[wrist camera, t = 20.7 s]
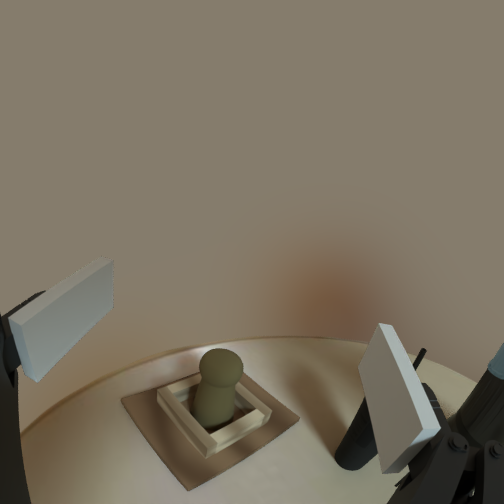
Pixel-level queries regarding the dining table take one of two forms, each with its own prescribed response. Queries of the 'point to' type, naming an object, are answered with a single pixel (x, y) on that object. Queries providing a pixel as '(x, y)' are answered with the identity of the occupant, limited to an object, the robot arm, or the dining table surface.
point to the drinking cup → (362, 436)
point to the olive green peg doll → (217, 389)
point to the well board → (196, 437)
